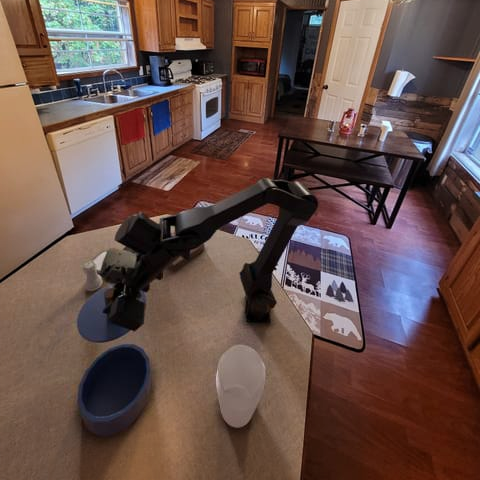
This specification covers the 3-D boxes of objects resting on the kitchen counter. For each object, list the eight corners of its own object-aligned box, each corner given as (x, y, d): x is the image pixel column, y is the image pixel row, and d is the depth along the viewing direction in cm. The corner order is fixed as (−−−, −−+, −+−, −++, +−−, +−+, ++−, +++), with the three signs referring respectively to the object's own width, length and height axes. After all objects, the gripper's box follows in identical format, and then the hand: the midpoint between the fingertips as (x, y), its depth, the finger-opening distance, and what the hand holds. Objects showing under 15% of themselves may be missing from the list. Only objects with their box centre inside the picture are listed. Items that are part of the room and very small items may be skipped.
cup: (256, 443, 46) (263, 408, 41) (208, 428, 47) (210, 392, 42) (262, 385, 54) (268, 350, 49) (221, 373, 55) (223, 338, 51)
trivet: (204, 249, 89) (204, 244, 88) (174, 271, 80) (174, 265, 79) (180, 232, 96) (180, 227, 95) (150, 251, 87) (149, 245, 86)
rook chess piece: (81, 288, 72) (76, 267, 69) (95, 276, 76) (90, 256, 73) (93, 294, 70) (88, 273, 67) (106, 282, 74) (102, 261, 71)
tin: (158, 358, 57) (157, 344, 55) (139, 436, 46) (137, 421, 44) (101, 357, 56) (98, 343, 55) (67, 436, 45) (62, 422, 43)
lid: (158, 294, 60) (156, 276, 58) (118, 354, 48) (114, 334, 46) (110, 279, 63) (106, 261, 61) (61, 332, 51) (54, 311, 49)
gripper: (129, 214, 58) (83, 258, 59) (115, 280, 41) (52, 339, 43) (167, 237, 63) (123, 277, 64) (168, 304, 46) (110, 356, 48)
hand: (105, 306), depth 55 cm, fingers closed on lid, 3 cm apart
